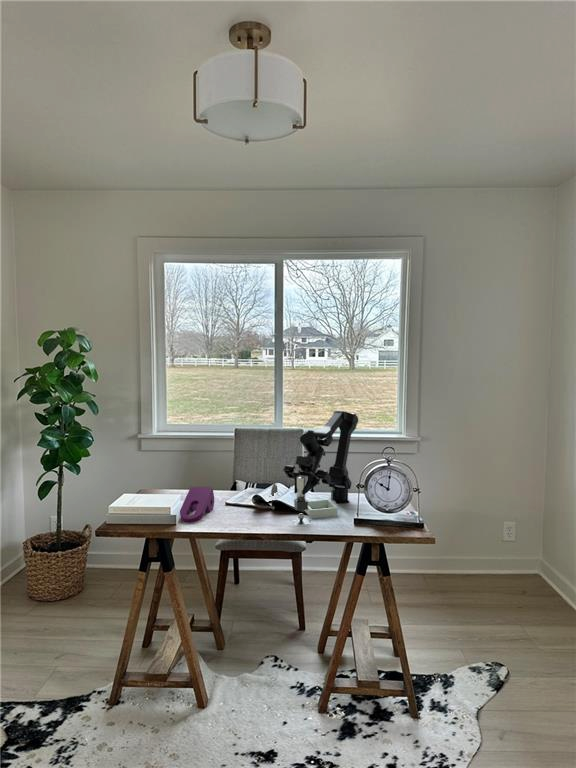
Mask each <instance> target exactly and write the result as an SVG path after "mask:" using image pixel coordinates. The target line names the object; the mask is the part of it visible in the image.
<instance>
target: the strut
mask: <svg viewBox="0 0 576 768" xmlns="http://www.w3.org/2000/svg"><path fill="white" fill-rule="evenodd" d="M305 485H306V476H298V477H297V493H296V498H294V500H293V503H294V504H293V505H294V509H295V510H296V511H297V512H299V511H300V512H301V511H305V510H308V501H309V500H308V499H306V494H305V495H303V494H302V493H303V490H304V487H305Z"/></svg>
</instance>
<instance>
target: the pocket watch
mask: <svg viewBox="0 0 576 768" xmlns="http://www.w3.org/2000/svg"><path fill="white" fill-rule="evenodd" d="M275 482H276V478H275V479H274V480H273V482H272V484H273V485H272V486H271V490H270V491H271V492H270V495H272V496H274V493H276V492H277V493H278V485H277V484H276V483H275Z"/></svg>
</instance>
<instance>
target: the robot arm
mask: <svg viewBox="0 0 576 768" xmlns="http://www.w3.org/2000/svg"><path fill="white" fill-rule="evenodd" d="M358 423H359V417H358V416H357V414H356V413H353V412H352V413H351V412H348V411H345V410H341V409H339V410H338V409H337V410H334V411H333V414H332V415H331V417H330V418H329V419H328V420H327V422H326V423H325V424H324V425H323V426H322V427H319V428H317V429H316V430H314V431H313V430H312V429H308V430H307V432H305V433H303V434H301V436H300V438H299V442H300V444H301V445H302V447H303V449H304V450H305V451H306V452H307V455H306V456H302V455H296V459H295V463H294V464H295V465H289V464H288V465H287V464H286V465H284V467H283V469H282V471H283V472H284V473H285V475H286V477H287V478H289V479H294V489H293V490H294V491H293V492H294V493H295V494H297V477H298V476H303V477H307V481H306V482H305V487H304V490H303V493H302V494H303V495H305V496H306V494H307V493H309V492H310V490H312V489H313V488H315V487H317V485H318V486H319V485H320V484H321V483H320V481H321V482H322V484H323V485H328V487H329V488H331V490H330V501H331V502H332V501H333V502H334V503H335V504H345V503H350V500H349V490H350V489H351V488H352V481H351V479H350V477H349V471H348V468H347V462H348V457H349V450H350V449H349V448H350V444H351V438H352V434H353V433H354V431H355V430H356V429H357V425H358ZM338 428H339V430H340V432H339V438H338V439H339V440H338V444H337V450H336V456H335V462H334V464H333V466H330V467H329V471H328V470H323V469H319V468H320V467H321V464H320V463H321V460H322V458H323V457H325V456H326V451H325V448H323V447H328V448H329V446H330V445H331V444H332V442H333V440H334V437H333V435H334V434H335V432H336V431H337V429H338ZM296 465H298V468H296Z"/></svg>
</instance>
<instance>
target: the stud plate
mask: <svg viewBox="0 0 576 768" xmlns="http://www.w3.org/2000/svg"><path fill="white" fill-rule="evenodd" d="M289 519H290V521H291V522H292V524H293V525H294V526H300V525H301V526H302V525H310V524H313V522H312V521H311V520H310V517H309V516H307V517H305V514H304V513H302V512H301V513H298V515H297V517H293V518H289Z"/></svg>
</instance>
